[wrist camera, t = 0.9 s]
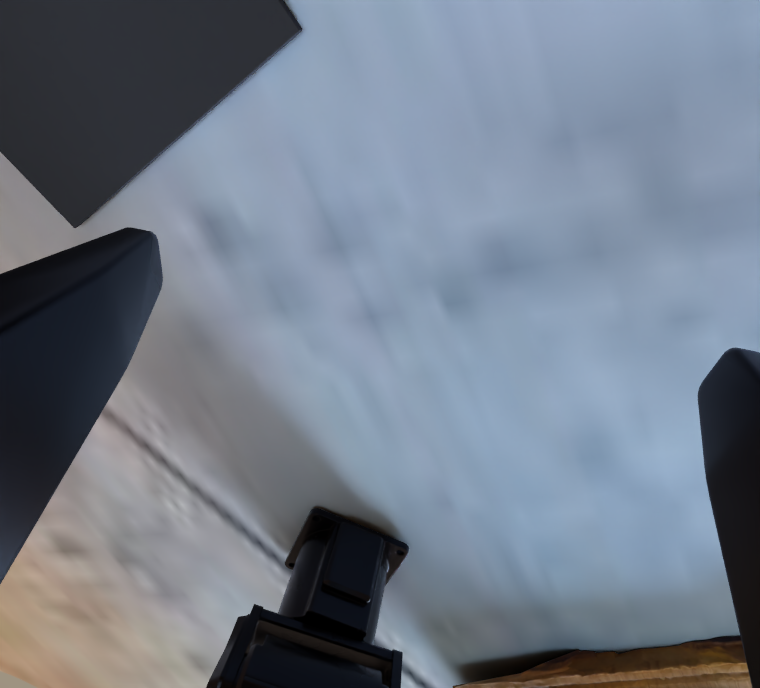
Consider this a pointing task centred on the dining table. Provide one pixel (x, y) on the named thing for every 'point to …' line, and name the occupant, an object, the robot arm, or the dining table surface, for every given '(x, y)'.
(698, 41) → the dining table surface
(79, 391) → the robot arm
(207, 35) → the placemat
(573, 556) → the dining table surface
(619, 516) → the dining table surface
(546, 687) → the pizza
